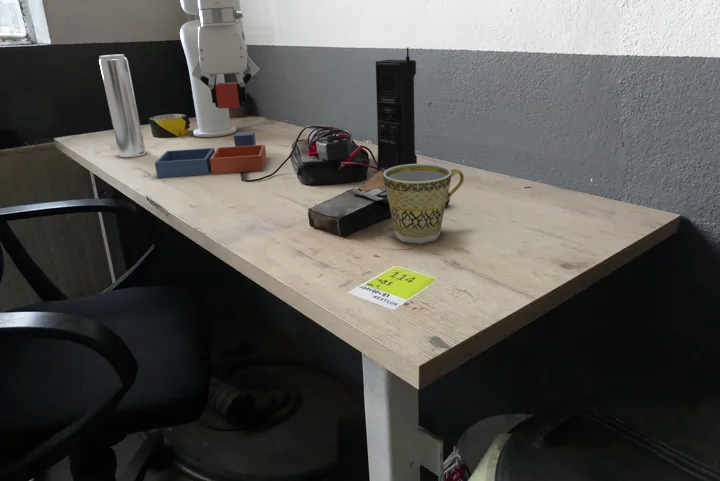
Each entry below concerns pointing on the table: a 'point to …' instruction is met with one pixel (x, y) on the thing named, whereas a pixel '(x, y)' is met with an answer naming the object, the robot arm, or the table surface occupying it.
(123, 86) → the shiny metal cylinder
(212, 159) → the red bin
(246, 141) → the blue block
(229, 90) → the red block
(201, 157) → the blue bin
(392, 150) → the portable radio
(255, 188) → the table surface
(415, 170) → the ceramic cup
